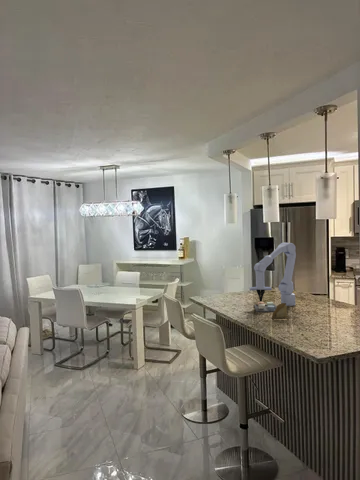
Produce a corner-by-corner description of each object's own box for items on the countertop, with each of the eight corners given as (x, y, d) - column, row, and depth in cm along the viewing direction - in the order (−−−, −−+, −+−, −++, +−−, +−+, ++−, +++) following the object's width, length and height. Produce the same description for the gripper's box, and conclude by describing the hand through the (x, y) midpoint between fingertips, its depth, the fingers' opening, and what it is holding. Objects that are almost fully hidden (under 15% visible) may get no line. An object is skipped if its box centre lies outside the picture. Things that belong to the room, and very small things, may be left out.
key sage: (272, 304, 243) (272, 301, 243) (273, 306, 239) (273, 303, 239) (266, 304, 243) (266, 302, 243) (267, 306, 239) (267, 303, 239)
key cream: (264, 307, 238) (264, 304, 238) (265, 308, 234) (265, 305, 234) (258, 307, 238) (258, 304, 238) (258, 308, 234) (258, 305, 234)
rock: (271, 317, 212) (288, 315, 210) (268, 304, 217) (285, 302, 215) (272, 324, 221) (289, 322, 219) (270, 311, 226) (286, 309, 224)
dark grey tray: (275, 307, 247) (275, 304, 246) (278, 313, 229) (278, 310, 229) (254, 307, 248) (254, 304, 248) (256, 314, 231) (256, 310, 231)
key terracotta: (263, 305, 244) (263, 302, 243) (264, 306, 240) (264, 303, 239) (257, 305, 244) (257, 302, 244) (258, 306, 240) (258, 303, 240)
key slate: (273, 308, 237) (273, 305, 237) (274, 309, 233) (274, 306, 233) (267, 308, 237) (267, 305, 237) (268, 310, 233) (268, 306, 233)
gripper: (270, 279, 244) (271, 299, 245) (248, 280, 246) (249, 299, 247) (271, 281, 237) (272, 301, 238) (249, 281, 239) (250, 301, 240)
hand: (260, 300), depth 242 cm, fingers closed
